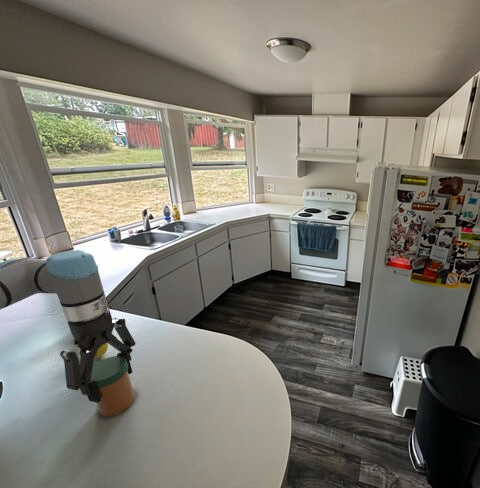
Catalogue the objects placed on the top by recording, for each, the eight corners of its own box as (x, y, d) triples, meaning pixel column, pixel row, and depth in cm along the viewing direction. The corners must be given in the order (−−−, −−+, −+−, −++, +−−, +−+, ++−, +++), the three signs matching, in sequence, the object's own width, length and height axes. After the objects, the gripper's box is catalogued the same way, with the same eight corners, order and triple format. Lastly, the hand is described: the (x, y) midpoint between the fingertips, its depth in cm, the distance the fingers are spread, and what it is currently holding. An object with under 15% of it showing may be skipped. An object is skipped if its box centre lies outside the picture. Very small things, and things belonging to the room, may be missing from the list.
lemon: (93, 353, 86) (86, 334, 83) (113, 349, 88) (107, 330, 85) (85, 365, 81) (78, 345, 78) (106, 360, 83) (100, 341, 80)
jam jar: (98, 422, 64) (85, 387, 60) (101, 399, 70) (89, 366, 66) (134, 406, 68) (124, 373, 64) (134, 386, 74) (125, 354, 70)
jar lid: (106, 391, 61) (104, 384, 61) (78, 385, 63) (75, 378, 62) (136, 364, 69) (134, 358, 68) (110, 359, 70) (108, 353, 70)
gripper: (48, 347, 49) (81, 427, 57) (140, 293, 69) (156, 358, 76) (18, 341, 50) (54, 421, 58) (117, 290, 70) (134, 354, 77)
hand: (112, 385), depth 67 cm, fingers closed on jar lid, 8 cm apart
